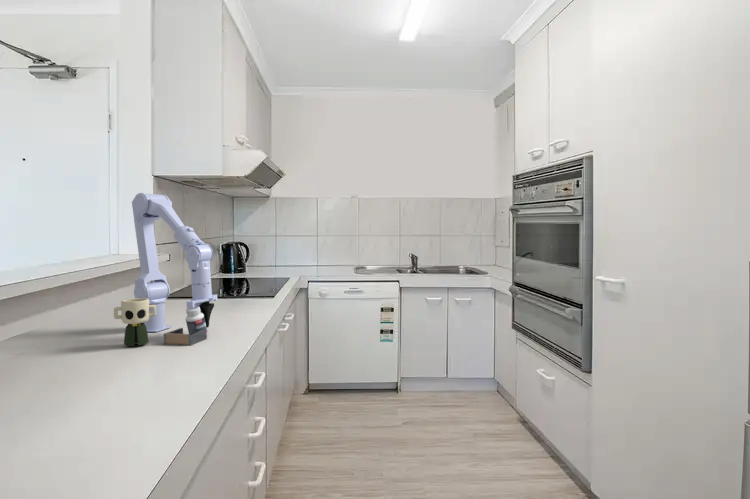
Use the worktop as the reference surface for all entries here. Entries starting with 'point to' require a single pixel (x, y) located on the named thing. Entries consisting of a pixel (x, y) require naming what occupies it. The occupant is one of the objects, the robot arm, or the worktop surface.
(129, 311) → the character mug
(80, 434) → the worktop surface
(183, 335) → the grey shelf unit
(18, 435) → the worktop surface
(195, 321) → the pill bottle
